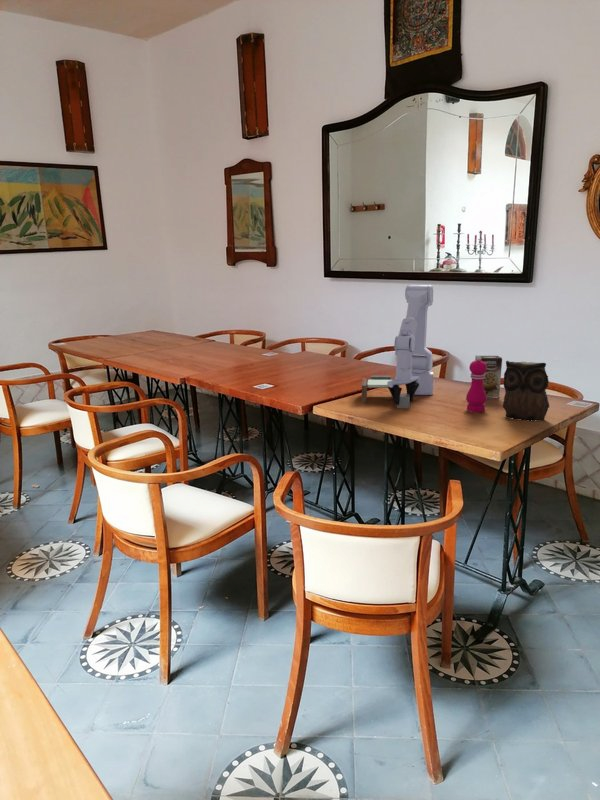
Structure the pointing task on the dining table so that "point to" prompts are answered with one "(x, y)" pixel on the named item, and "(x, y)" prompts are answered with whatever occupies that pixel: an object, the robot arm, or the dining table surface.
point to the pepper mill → (477, 386)
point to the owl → (525, 390)
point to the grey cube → (404, 401)
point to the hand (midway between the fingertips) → (403, 402)
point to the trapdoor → (379, 381)
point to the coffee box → (492, 375)
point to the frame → (364, 389)
